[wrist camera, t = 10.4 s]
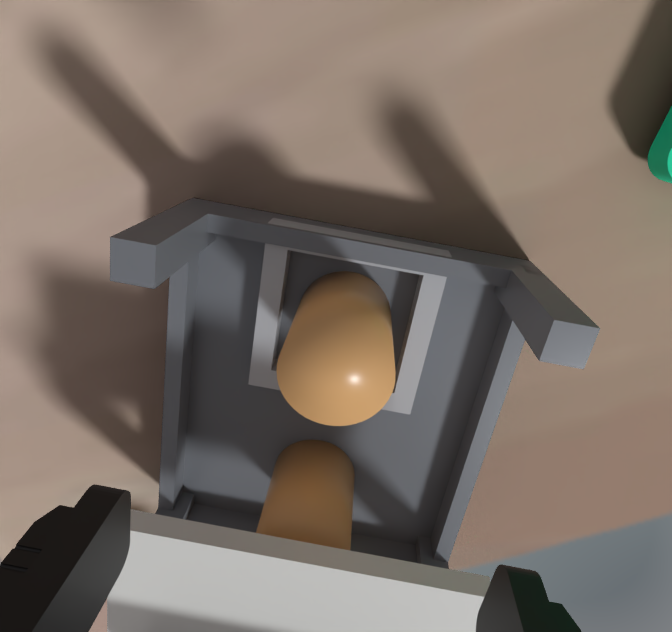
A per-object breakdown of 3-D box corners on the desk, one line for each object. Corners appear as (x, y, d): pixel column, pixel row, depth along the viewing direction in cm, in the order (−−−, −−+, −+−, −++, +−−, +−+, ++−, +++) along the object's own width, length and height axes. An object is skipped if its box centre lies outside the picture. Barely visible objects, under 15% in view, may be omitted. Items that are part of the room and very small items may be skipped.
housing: (192, 197, 24) (110, 236, 16) (530, 260, 24) (600, 328, 16) (173, 497, 31) (109, 620, 23) (435, 546, 31) (455, 685, 23)
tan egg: (305, 263, 24) (284, 310, 18) (399, 280, 24) (407, 332, 18) (293, 347, 25) (270, 414, 20) (380, 363, 25) (382, 435, 20)
